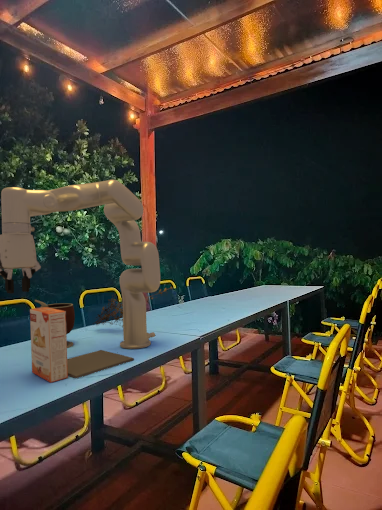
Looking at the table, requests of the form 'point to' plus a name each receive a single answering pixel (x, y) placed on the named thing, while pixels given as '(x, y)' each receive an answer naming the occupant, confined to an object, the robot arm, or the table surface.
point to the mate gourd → (69, 315)
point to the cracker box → (49, 343)
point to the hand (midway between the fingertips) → (18, 291)
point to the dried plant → (116, 310)
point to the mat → (94, 363)
